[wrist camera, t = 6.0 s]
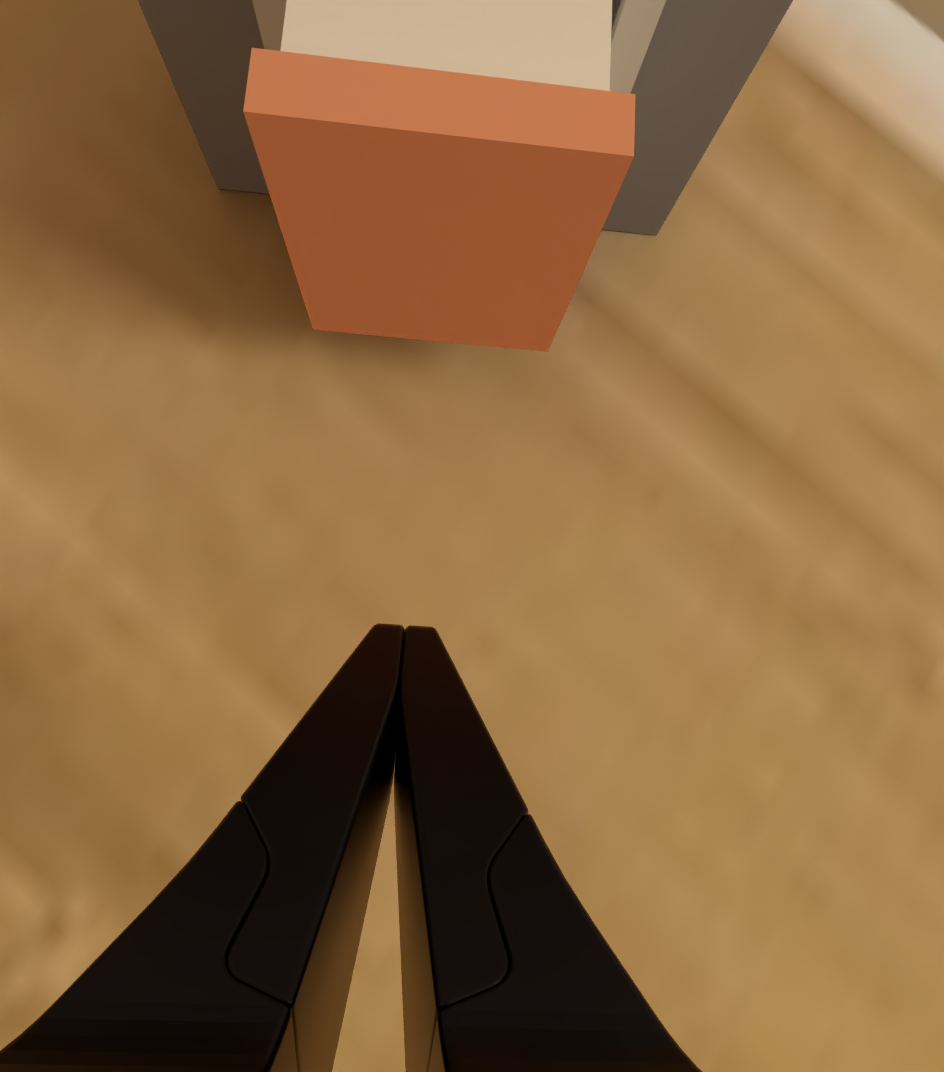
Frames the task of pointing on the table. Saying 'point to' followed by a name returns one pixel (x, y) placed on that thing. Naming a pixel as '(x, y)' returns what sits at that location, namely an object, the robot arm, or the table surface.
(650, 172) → the box
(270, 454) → the table surface
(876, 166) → the table surface
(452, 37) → the plunger
